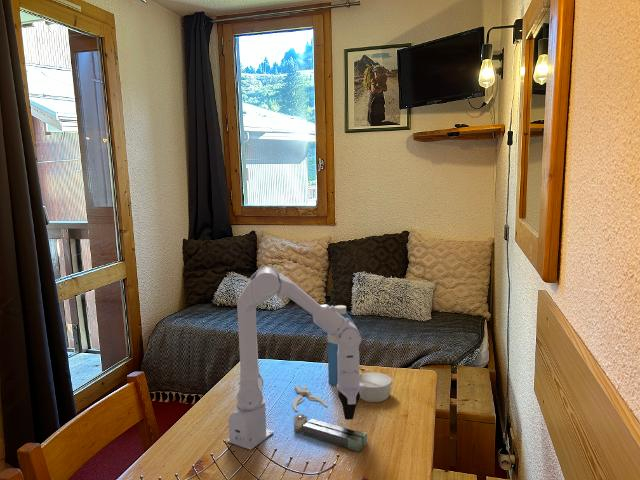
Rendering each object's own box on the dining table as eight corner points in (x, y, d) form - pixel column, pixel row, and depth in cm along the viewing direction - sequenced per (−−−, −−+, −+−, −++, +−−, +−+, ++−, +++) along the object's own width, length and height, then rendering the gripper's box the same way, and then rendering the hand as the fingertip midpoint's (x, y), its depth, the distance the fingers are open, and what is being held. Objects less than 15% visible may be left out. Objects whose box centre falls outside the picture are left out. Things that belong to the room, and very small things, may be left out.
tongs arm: (363, 446, 117) (363, 436, 117) (308, 430, 126) (307, 420, 125) (367, 443, 119) (367, 433, 118) (312, 426, 127) (312, 417, 127)
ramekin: (353, 403, 141) (353, 386, 141) (357, 387, 152) (357, 371, 152) (391, 405, 139) (391, 388, 139) (392, 389, 150) (392, 373, 150)
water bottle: (348, 373, 163) (347, 302, 161) (360, 383, 155) (359, 308, 152) (323, 377, 160) (321, 305, 157) (334, 388, 151) (332, 311, 149)
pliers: (294, 407, 136) (284, 386, 151) (294, 413, 137) (284, 391, 151) (327, 403, 139) (314, 382, 153) (328, 408, 139) (315, 387, 154)
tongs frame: (358, 452, 115) (358, 438, 114) (290, 431, 126) (289, 418, 125) (366, 444, 118) (366, 430, 118) (298, 425, 129) (298, 411, 129)
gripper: (367, 379, 117) (368, 431, 119) (359, 358, 132) (360, 405, 133) (339, 380, 117) (340, 432, 118) (334, 359, 131) (335, 406, 133)
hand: (348, 418), depth 126 cm, fingers closed
